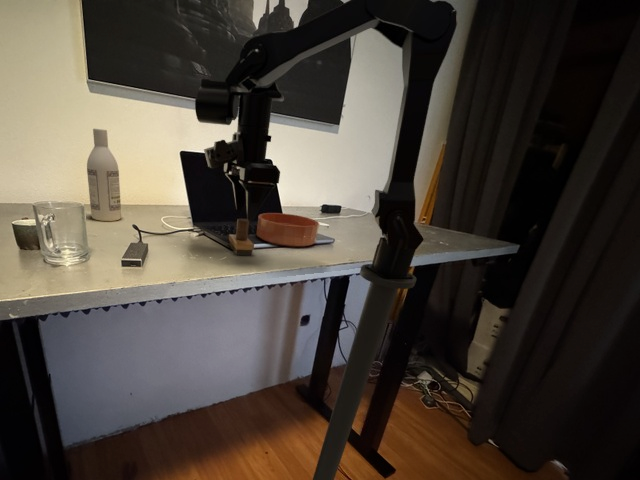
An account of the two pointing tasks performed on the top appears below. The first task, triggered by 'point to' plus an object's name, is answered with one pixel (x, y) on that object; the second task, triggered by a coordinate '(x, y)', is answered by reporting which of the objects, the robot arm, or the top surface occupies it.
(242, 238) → the scrub brush
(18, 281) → the top surface
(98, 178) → the bath foam
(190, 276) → the top surface
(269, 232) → the bowl
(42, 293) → the top surface
